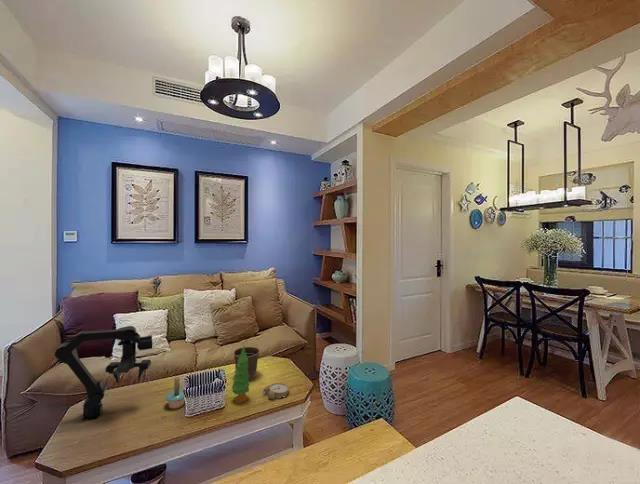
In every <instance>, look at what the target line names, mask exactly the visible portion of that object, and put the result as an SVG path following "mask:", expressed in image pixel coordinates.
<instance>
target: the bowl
mask: <svg viewBox="0 0 640 484" xmlns="http://www.w3.org/2000/svg"><path fill="white" fill-rule="evenodd" d="M183 405H185V401H184V399H182V400H179V401H175V402H170V401H168V406H169V408H170V409H174V410H175V409H179V408H182V406H183Z"/></svg>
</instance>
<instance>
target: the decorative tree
mask: <svg viewBox="0 0 640 484" xmlns="http://www.w3.org/2000/svg"><path fill="white" fill-rule="evenodd" d="M242 347H243V349H242V352H241V355H240V357H239V359H238V363H237V365H236V366H237V368H236V367H235V370H234V376H233V378H232V381H233V384H232V385H231V389H232V390H231V392H232V393H234V395H237V397H236V398H235V399H234V401H235V402H236V403H238V404H239V402H240V403H244V402H245V401H247V393H248V392H249V391H250V380H248V369H247V368H248V362H247V361H248V358H247V356H246V352H245V348H244V347H245V346H242ZM243 401H244V402H243Z"/></svg>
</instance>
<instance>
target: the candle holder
mask: <svg viewBox="0 0 640 484" xmlns="http://www.w3.org/2000/svg"><path fill="white" fill-rule="evenodd" d="M289 389H290V387H289V386H288V385H287V384H286V383H282V382H275V383H272V384H270V385H269V384H268V385H265V388H264V389H263V390H262V395H263V396H266V397H268V399H270V400H274V399H281V398H280V397H283V396H286V395H287V394H288V395H289V393H291V391H290V390H289ZM288 395H287V396H288ZM287 396H286V397H287Z"/></svg>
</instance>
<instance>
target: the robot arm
mask: <svg viewBox="0 0 640 484" xmlns="http://www.w3.org/2000/svg"><path fill="white" fill-rule="evenodd" d="M99 340H100V341H102V340H117V341H119V342H118V343H117V346H118V347H119V346H121V347H122V349H121V350H122V354H121V357H120V361H111V362H109V364H108V365H107V366H106V367H105V369H104V370H105V373H108V374H110V375H112V376H113V377H114V379H115V381H116V384H118V385H119V384H120V382H121V381H120V380H121V374H128V373H130V370H133V369H135V368H138V370H137V372H138V377H137V382H138V383H140V381H141V380H142V376H143V374H144V372H145V371H146V370H148V369H149V368H150V367H151V365H152V360H151V359H142V360H141V362H137V350H138V351H145V350H152V349H153V335H146V336H141V335H140V333H138V332H137V329H136V327H135V326H133V325H128V326H124V327H120V328H115V329H103V330H89V331H88V330H82V331H80V332H79V333H78V334H76V335H75V336H74V337H73V338H71V339H69V340H68V341H65V342H63V343H61V344H60V345H59V346H58V348H57V349H56V350H55V353H54V356H55V358H56V359H57V360H59V362H61V363H64V364H66V365H67V366H68V367H69V369H71V371H72V373H74V375H75V376H76V377H77V379H78V380H79V382H80V383H81V384H82V385H83V386H84V389H85V392H86V398H85V400H84V402H83V404H82V406H83V411H82V412H83V413H82V415H83V416H82V418H81V420H80V421H87V420H88V421H90V420H97V419H98V418H99V417H100V416H101V414H102V413H103V412H104V407H103V405H104V404H103V403H102V400H103V399H104V397H105V394H106V391H107V384H106V383H104V381H103V379H100V380H98V379H95V377H94V376H93V375H92V374H91V372H90V371H89V370H88V368H87V366H86V365H85V364H84V363H83V361H81V358H80V357H79V354H78V351H77V348H78V347H79V346H80V345H81V344H82V343H83V342H88V341H89V342H90V341H99ZM136 349H137V350H136Z"/></svg>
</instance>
